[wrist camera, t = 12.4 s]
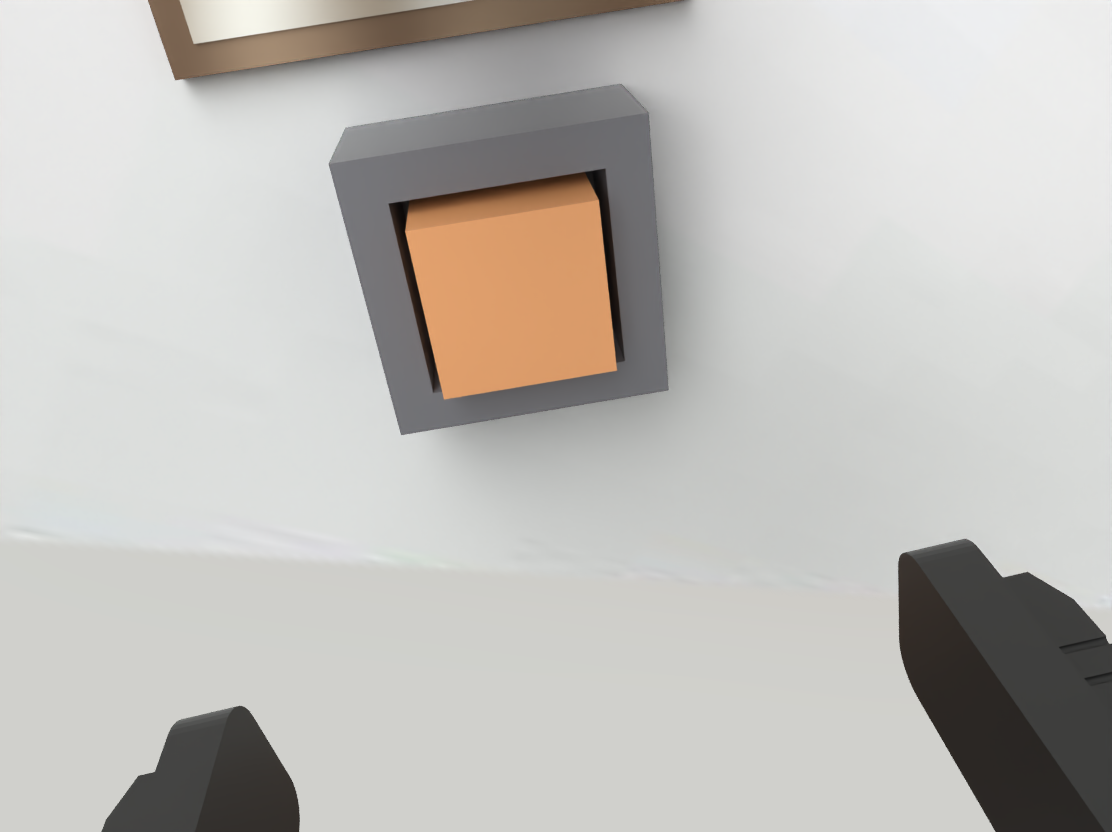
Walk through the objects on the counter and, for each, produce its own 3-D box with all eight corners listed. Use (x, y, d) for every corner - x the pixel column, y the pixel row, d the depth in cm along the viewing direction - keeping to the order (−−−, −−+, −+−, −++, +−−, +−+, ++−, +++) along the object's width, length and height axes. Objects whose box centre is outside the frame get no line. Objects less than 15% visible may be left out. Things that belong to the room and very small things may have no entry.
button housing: (406, 371, 29) (400, 434, 25) (345, 128, 25) (328, 163, 21) (642, 332, 29) (668, 390, 26) (620, 83, 25) (648, 112, 21)
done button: (444, 350, 26) (443, 399, 24) (410, 195, 24) (404, 231, 21) (600, 324, 26) (617, 370, 24) (582, 168, 24) (598, 199, 21)
